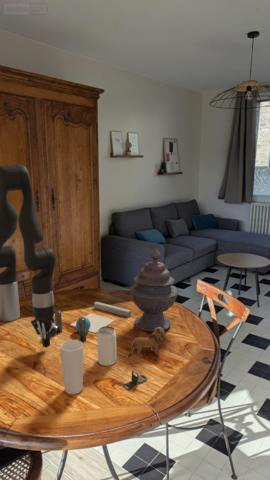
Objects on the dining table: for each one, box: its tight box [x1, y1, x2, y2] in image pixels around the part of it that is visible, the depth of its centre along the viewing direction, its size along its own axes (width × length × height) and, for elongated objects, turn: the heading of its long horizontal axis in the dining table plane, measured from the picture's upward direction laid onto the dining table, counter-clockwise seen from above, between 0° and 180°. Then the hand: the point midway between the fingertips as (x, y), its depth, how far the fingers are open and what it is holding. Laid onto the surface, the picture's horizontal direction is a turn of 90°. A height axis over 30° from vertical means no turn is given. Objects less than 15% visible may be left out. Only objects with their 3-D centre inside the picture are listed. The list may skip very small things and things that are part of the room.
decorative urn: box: [129, 247, 179, 333], centre depth 145 cm, size 20×20×35 cm
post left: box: [54, 309, 63, 334], centre depth 142 cm, size 3×3×9 cm
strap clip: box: [122, 369, 149, 391], centre depth 109 cm, size 8×3×4 cm, turn 130°
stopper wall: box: [93, 301, 132, 318], centre depth 162 cm, size 20×2×2 cm, turn 57°
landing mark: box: [70, 312, 116, 334], centre depth 151 cm, size 14×14×1 cm
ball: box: [75, 316, 91, 332], centre depth 143 cm, size 6×6×6 cm
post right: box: [78, 316, 87, 343], centre depth 135 cm, size 3×3×9 cm
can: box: [96, 325, 117, 367], centre depth 120 cm, size 6×6×12 cm
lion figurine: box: [128, 327, 165, 358], centre depth 125 cm, size 15×5×9 cm, turn 117°
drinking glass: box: [60, 339, 85, 395], centre depth 104 cm, size 7×7×15 cm
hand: (46, 346), depth 129 cm, fingers closed
